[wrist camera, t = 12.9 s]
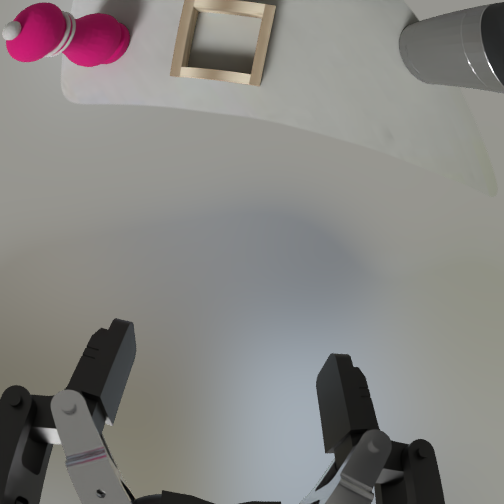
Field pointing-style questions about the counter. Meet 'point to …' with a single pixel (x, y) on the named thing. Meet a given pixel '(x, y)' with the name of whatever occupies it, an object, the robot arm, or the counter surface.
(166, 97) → the counter surface
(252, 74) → the cup holder
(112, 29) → the pepper mill
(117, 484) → the robot arm
